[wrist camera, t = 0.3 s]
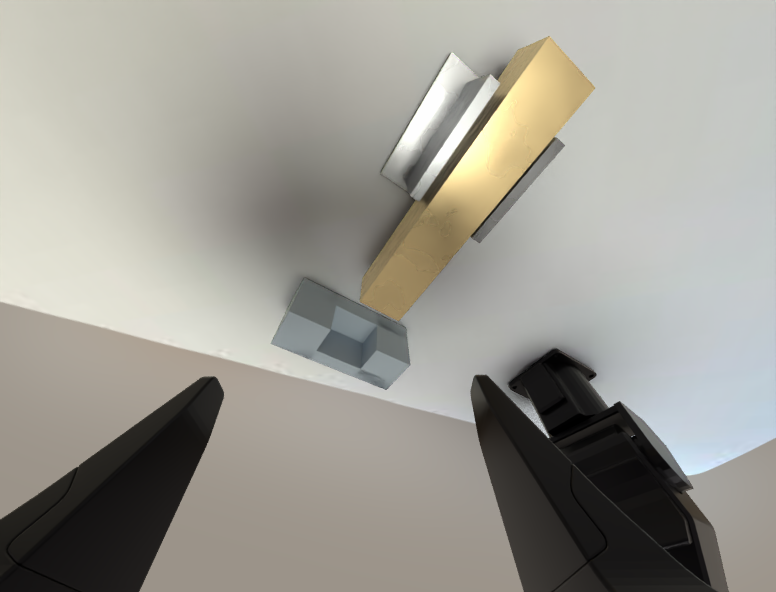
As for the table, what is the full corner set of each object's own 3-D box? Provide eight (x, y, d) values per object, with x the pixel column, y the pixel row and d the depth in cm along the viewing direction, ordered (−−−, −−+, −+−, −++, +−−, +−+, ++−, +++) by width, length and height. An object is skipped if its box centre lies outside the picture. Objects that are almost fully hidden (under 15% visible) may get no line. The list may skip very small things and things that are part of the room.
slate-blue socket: (406, 328, 26) (410, 365, 22) (385, 351, 27) (386, 389, 23) (304, 277, 22) (288, 311, 19) (287, 307, 24) (270, 343, 20)
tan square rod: (558, 91, 14) (595, 87, 12) (396, 296, 21) (398, 321, 19) (518, 49, 13) (549, 36, 11) (362, 278, 20) (359, 301, 18)
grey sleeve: (547, 144, 18) (593, 154, 14) (471, 234, 21) (492, 262, 17) (449, 54, 15) (472, 35, 11) (380, 172, 18) (380, 188, 14)
